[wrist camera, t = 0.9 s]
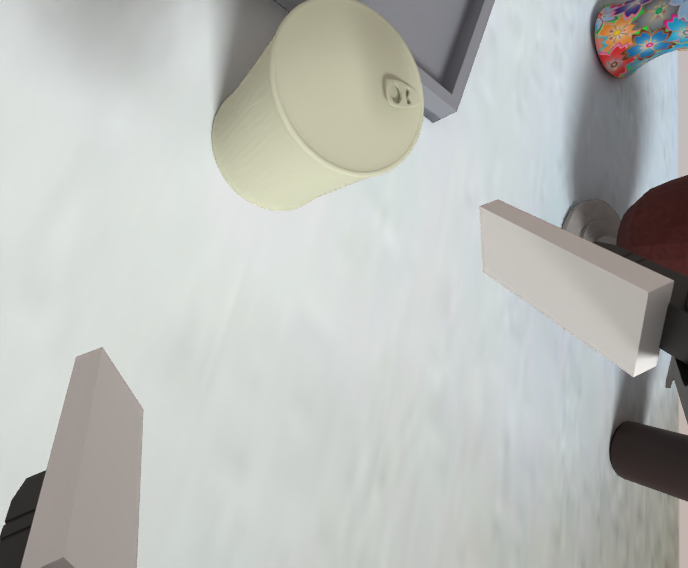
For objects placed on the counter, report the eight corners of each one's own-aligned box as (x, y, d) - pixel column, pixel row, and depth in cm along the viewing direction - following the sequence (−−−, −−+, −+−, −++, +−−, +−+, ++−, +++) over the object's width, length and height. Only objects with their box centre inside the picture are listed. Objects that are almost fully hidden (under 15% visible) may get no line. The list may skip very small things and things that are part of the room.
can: (334, 211, 35) (436, 179, 25) (216, 210, 31) (279, 170, 20) (326, 93, 35) (426, 11, 25) (206, 74, 31) (266, -36, 20)
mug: (581, 63, 51) (690, 13, 42) (591, -11, 52) (699, -75, 43) (638, 106, 57) (745, 71, 48) (646, 39, 58) (752, -9, 49)
